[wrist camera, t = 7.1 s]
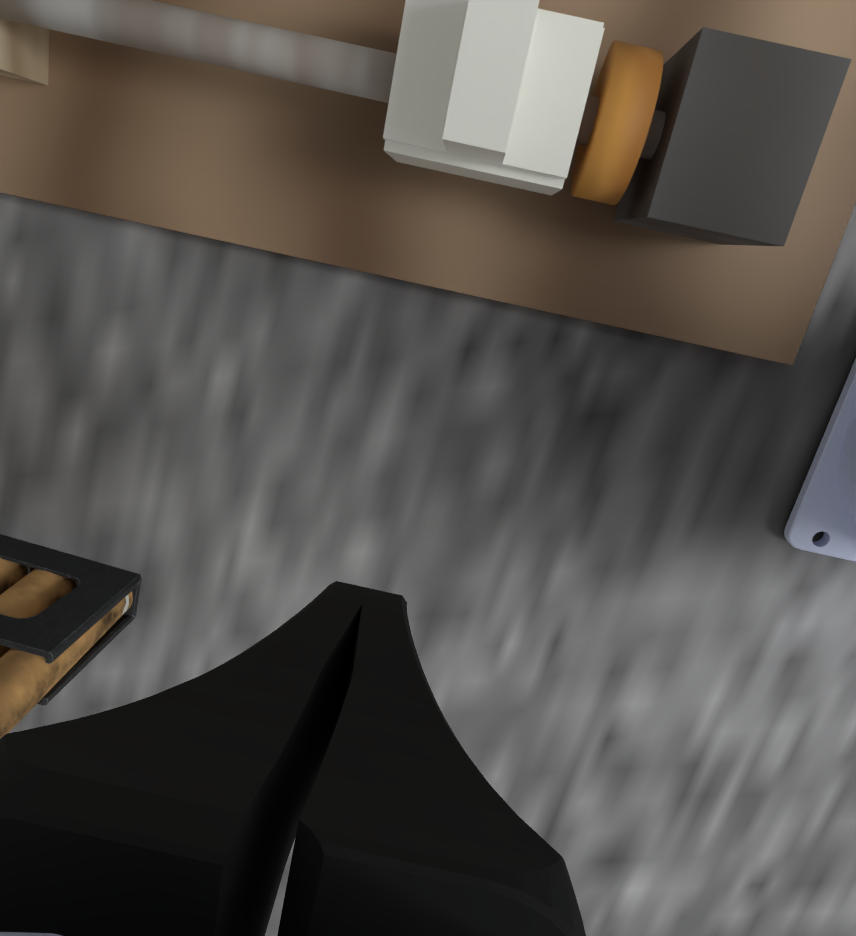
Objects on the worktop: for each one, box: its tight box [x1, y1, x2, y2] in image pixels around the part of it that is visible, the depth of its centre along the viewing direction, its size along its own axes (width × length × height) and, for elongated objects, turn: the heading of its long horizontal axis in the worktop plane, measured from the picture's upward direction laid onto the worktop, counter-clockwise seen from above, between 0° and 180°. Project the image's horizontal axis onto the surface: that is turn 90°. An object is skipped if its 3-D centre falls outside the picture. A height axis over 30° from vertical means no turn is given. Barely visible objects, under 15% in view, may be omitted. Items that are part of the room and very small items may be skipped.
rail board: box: [0, 0, 856, 365], centre depth 16 cm, size 24×9×5 cm, turn 79°
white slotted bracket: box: [383, 0, 605, 196], centre depth 14 cm, size 4×3×5 cm
